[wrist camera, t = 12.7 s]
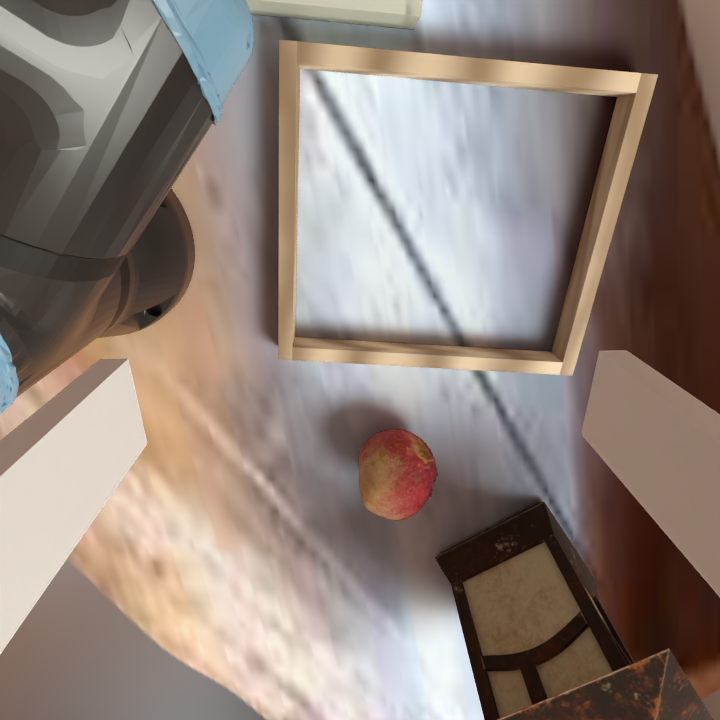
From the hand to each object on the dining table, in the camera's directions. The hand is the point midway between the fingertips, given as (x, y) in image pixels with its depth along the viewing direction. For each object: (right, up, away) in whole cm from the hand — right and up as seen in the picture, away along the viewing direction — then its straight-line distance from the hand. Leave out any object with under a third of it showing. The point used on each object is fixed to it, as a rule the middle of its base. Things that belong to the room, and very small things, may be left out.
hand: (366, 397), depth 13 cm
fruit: (+3, -8, +34) cm, 35 cm away
